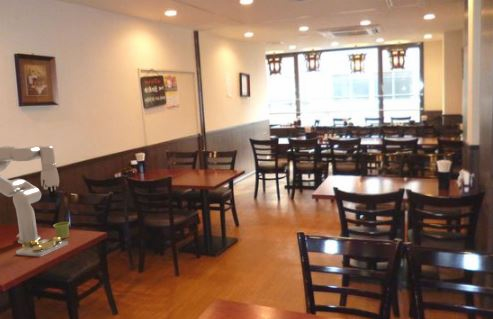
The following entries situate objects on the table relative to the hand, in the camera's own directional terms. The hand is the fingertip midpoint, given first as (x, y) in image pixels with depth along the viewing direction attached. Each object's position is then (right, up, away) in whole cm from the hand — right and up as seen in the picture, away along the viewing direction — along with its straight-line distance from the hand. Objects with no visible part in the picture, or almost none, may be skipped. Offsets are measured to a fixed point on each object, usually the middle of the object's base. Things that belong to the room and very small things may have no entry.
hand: (52, 197), depth 260 cm
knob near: (-8, -27, -10) cm, 30 cm away
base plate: (-1, -29, -10) cm, 31 cm away
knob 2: (+5, -26, -8) cm, 27 cm away
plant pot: (+2, -26, +10) cm, 28 cm away
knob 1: (+2, -27, -16) cm, 31 cm away
